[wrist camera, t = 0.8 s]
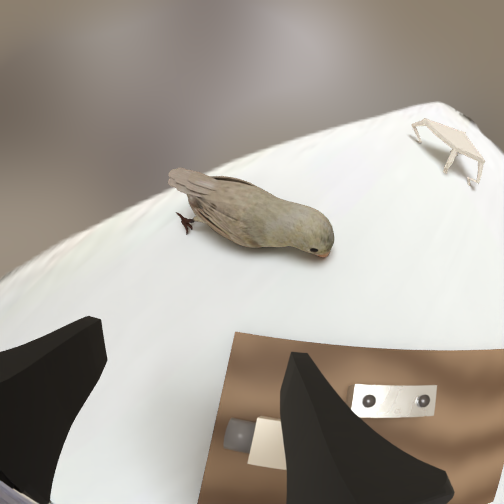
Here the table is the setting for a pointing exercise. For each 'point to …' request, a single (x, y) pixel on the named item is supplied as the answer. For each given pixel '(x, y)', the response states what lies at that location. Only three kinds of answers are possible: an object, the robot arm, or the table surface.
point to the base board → (392, 429)
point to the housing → (391, 400)
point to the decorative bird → (252, 213)
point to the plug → (257, 441)
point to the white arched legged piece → (453, 144)
